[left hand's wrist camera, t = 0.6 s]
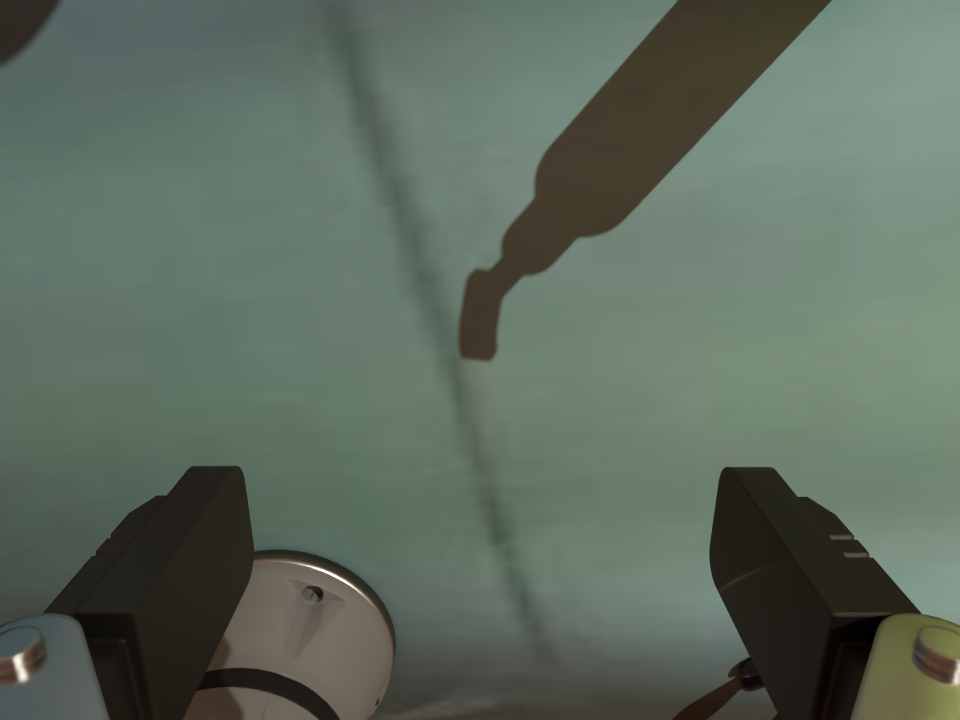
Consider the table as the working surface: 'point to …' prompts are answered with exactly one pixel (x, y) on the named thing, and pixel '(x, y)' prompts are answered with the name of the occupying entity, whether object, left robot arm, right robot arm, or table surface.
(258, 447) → the table surface
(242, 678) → the right robot arm
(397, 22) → the table surface
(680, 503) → the table surface
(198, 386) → the table surface
